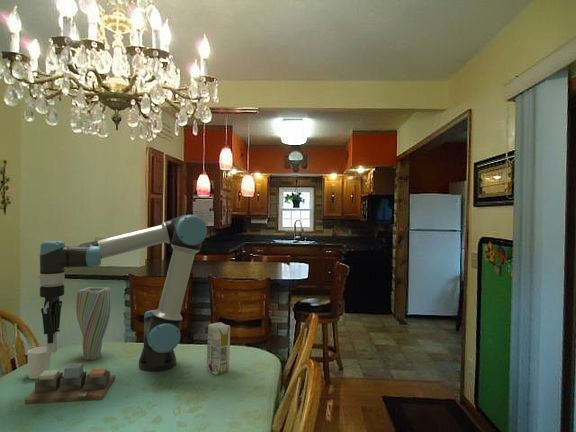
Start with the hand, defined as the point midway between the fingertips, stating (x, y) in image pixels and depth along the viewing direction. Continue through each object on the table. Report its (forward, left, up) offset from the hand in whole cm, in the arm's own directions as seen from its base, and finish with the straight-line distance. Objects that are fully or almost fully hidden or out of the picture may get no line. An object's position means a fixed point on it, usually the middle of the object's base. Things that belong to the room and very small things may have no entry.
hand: (51, 351), depth 142 cm
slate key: (-8, 0, -10) cm, 13 cm away
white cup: (+9, -15, -14) cm, 23 cm away
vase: (-5, -34, -14) cm, 37 cm away
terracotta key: (-16, 0, -13) cm, 20 cm away
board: (-8, 0, -14) cm, 16 cm away
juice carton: (-59, -12, -14) cm, 61 cm away
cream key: (+1, 0, -13) cm, 13 cm away
